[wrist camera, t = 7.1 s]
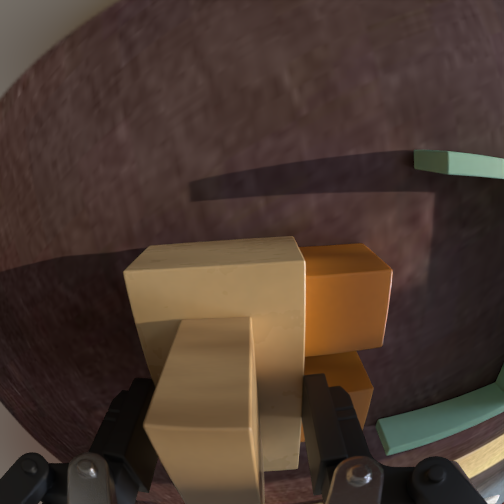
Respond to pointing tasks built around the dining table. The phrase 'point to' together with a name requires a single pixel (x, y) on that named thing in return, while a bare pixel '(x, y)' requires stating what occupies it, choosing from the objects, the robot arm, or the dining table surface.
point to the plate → (492, 499)
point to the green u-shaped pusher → (468, 405)
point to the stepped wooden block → (222, 361)
